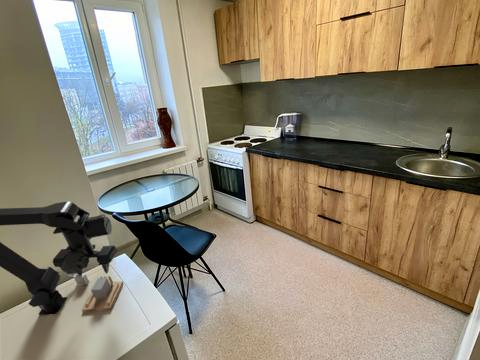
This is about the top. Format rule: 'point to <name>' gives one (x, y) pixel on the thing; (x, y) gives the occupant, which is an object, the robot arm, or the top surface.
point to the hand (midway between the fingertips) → (94, 273)
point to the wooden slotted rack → (103, 303)
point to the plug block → (101, 288)
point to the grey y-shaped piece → (79, 278)
